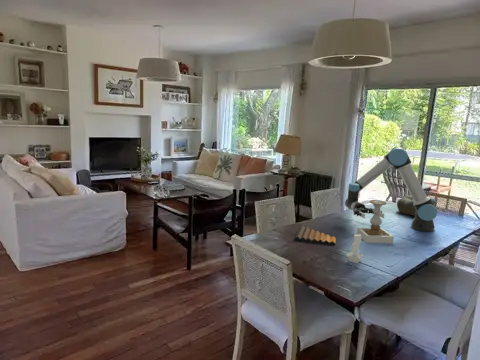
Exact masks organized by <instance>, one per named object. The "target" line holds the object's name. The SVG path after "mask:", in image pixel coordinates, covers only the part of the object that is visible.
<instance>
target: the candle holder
mask: <svg viewBox="0 0 480 360" xmlns="http://www.w3.org/2000/svg"><path fill="white" fill-rule="evenodd" d="M369 203H370V204H372V205H373V207H374V208H373V209H374V210H373V213H374V214H372V215H373V216H372V217H371V218H370V219H369V223H370V224H371V225H370V227H369V228H371V229H369V230H366V231H365V233H367V234H368V235H377V236H384V235H383V233H382V232H381V231H380V230H379V229H380V228H381V225H382V224H383V220H382V219H381V218H382V217H380V216H379V214H380V213H381V211H382V210H381V207H382V206H385V205H387V202H386V201H385V200H378V199H372V200H371V199H370V200H369Z"/></svg>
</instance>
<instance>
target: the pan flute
mask: <svg viewBox="0 0 480 360" xmlns="http://www.w3.org/2000/svg"><path fill="white" fill-rule="evenodd" d="M336 239H337V238H336V236H330V235H329V234H328V233H327V234H326V233H324V232H321V233H320V231H318V230H316V231H315V230H314V228H311V229H310V228H309V227H308V226H307V227H305V226H304V225H301V226H300V227H299V228H298V231H297V233H296V235H295V237H294V241H295V240H297V241H296V242H302V241H303V243H305V242H306V243H312V244H319V245H324V246H325V245H326V246H333V247H335V245H336Z"/></svg>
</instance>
